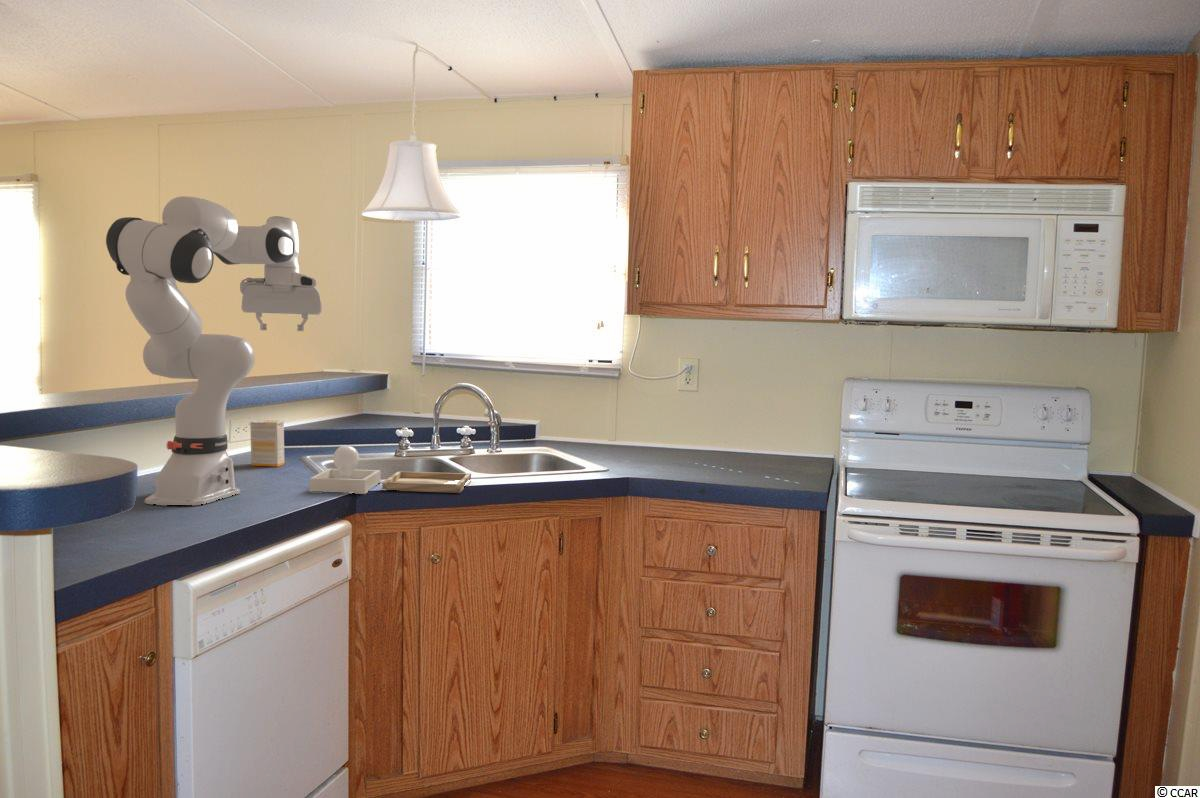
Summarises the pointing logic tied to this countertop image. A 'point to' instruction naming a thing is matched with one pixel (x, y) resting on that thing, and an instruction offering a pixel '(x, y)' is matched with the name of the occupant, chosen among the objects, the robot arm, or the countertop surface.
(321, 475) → the shallow white dish
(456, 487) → the tray
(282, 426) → the supplement box
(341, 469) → the lightbulb
